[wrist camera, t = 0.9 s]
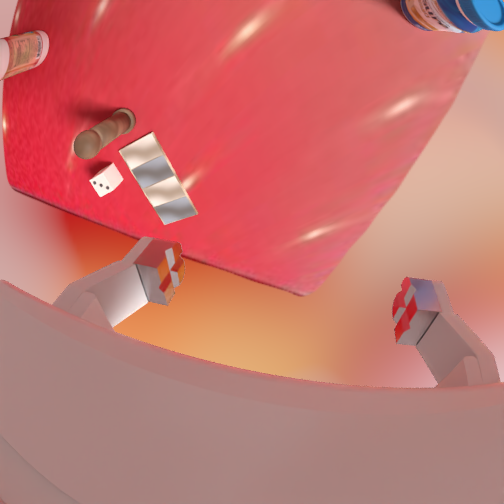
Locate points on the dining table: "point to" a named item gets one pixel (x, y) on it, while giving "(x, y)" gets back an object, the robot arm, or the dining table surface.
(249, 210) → the dining table surface
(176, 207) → the board
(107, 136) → the pawn
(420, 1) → the beverage bottle
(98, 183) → the die
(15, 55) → the fruit juice
